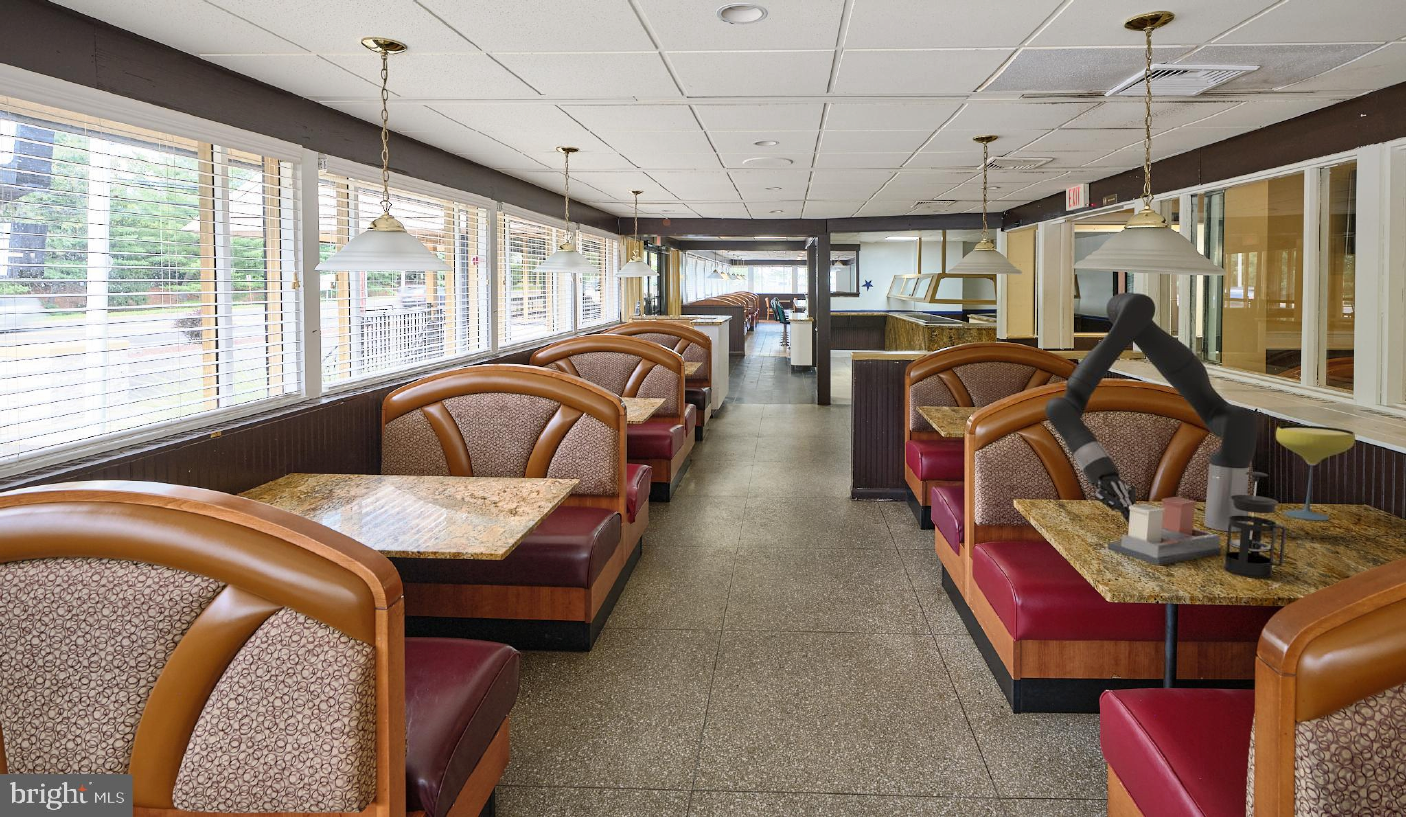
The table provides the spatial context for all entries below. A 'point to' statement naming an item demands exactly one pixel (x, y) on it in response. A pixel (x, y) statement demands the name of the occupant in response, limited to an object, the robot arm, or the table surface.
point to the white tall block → (1146, 522)
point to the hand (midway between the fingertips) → (1134, 522)
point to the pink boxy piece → (1178, 515)
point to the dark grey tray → (1169, 546)
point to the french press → (1252, 536)
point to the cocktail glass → (1313, 453)
